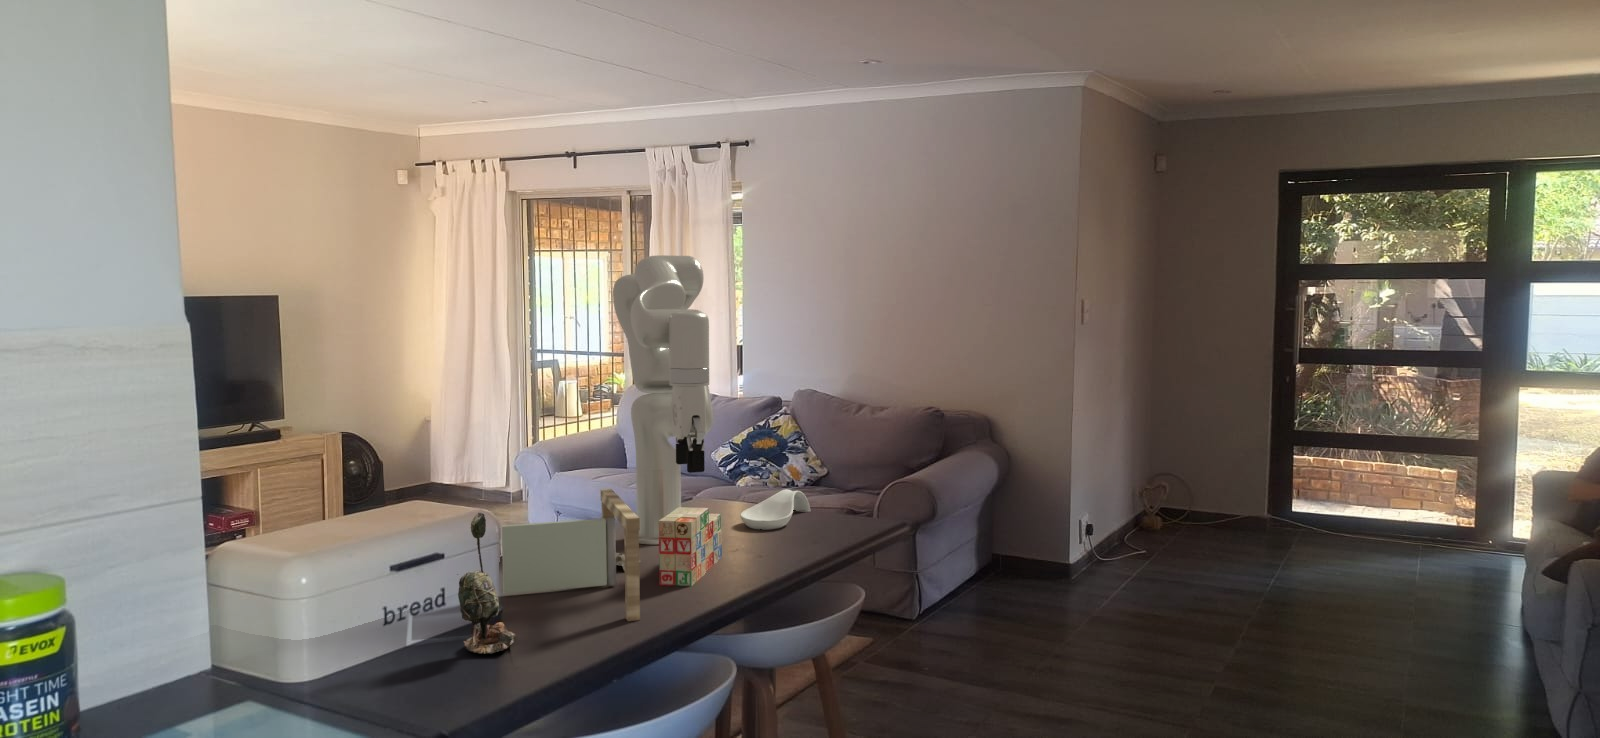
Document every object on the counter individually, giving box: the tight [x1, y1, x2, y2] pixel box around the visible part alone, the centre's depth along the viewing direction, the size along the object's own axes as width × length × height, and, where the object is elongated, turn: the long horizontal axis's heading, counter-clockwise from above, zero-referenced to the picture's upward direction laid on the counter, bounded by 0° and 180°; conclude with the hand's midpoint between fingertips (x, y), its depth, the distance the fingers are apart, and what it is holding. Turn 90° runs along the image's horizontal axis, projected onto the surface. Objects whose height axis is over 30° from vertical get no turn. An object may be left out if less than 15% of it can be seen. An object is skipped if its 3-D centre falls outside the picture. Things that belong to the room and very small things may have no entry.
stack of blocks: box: [658, 506, 723, 587], centre depth 208 cm, size 21×6×12 cm, turn 169°
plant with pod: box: [456, 512, 516, 654], centre depth 163 cm, size 8×11×20 cm
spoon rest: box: [739, 488, 811, 531], centre depth 251 cm, size 24×12×7 cm, turn 154°
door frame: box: [599, 488, 641, 622], centre depth 188 cm, size 28×2×17 cm, turn 19°
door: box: [501, 517, 617, 595], centre depth 194 cm, size 20×2×12 cm, turn 109°
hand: (689, 467), depth 206 cm, fingers open, 8 cm apart
